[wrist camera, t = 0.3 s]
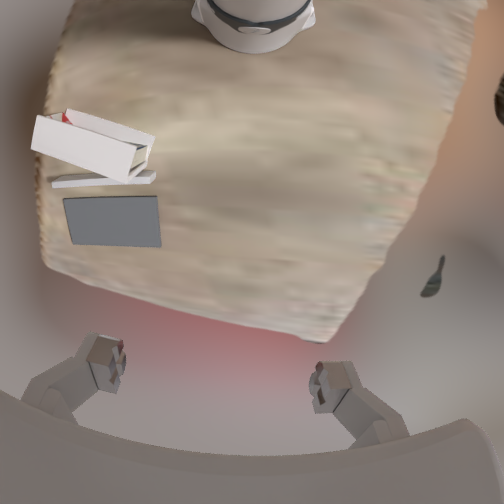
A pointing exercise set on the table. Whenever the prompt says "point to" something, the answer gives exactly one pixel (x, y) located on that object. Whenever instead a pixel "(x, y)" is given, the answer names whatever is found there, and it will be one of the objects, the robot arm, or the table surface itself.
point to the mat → (114, 221)
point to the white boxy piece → (93, 144)
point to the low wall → (100, 180)
